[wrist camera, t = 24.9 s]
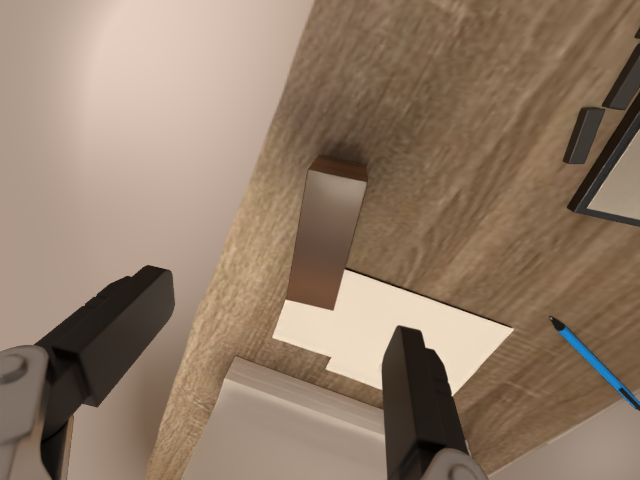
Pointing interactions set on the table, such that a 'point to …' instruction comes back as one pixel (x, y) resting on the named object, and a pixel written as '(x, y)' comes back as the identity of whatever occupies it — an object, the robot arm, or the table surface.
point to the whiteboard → (615, 176)
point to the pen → (595, 363)
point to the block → (287, 432)
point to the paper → (387, 330)
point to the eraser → (326, 230)
